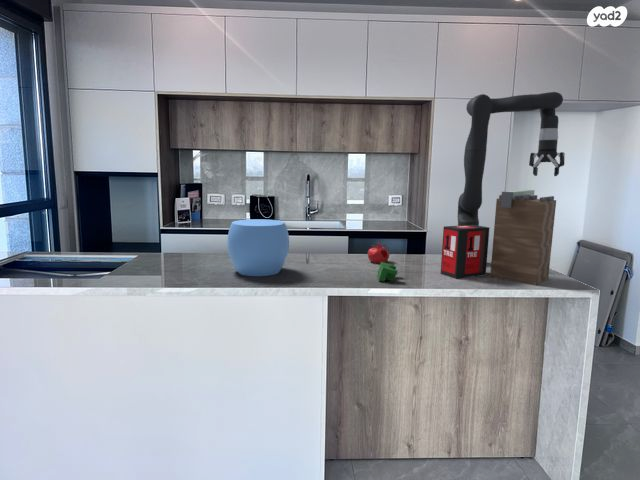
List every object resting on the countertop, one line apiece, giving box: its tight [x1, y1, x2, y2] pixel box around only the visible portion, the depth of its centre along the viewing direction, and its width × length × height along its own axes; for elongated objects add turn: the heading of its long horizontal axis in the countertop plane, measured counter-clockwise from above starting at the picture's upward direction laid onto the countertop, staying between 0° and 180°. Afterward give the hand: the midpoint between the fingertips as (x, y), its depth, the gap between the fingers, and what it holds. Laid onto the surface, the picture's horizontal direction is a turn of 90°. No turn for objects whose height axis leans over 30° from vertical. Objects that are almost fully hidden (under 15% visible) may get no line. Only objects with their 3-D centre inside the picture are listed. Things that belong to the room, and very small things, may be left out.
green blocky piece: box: [376, 262, 399, 283], centre depth 183 cm, size 12×6×9 cm, turn 170°
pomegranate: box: [367, 241, 390, 264], centre depth 213 cm, size 10×10×9 cm
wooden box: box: [489, 194, 557, 286], centre depth 186 cm, size 14×18×34 cm
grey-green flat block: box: [501, 189, 535, 208], centre depth 190 cm, size 26×4×6 cm, turn 137°
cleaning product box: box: [440, 225, 491, 280], centre depth 192 cm, size 16×9×20 cm, turn 117°
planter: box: [226, 218, 290, 277], centre depth 190 cm, size 25×25×20 cm
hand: (545, 175), depth 209 cm, fingers open, 8 cm apart
